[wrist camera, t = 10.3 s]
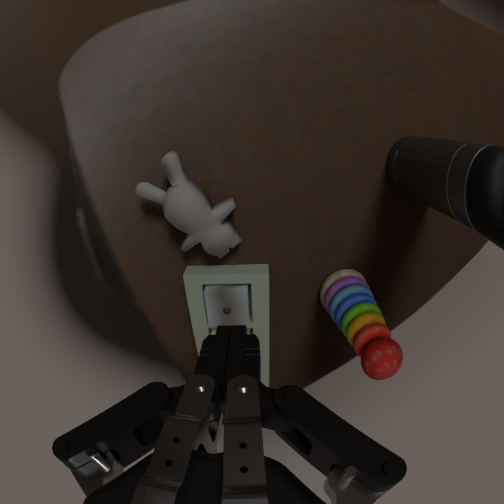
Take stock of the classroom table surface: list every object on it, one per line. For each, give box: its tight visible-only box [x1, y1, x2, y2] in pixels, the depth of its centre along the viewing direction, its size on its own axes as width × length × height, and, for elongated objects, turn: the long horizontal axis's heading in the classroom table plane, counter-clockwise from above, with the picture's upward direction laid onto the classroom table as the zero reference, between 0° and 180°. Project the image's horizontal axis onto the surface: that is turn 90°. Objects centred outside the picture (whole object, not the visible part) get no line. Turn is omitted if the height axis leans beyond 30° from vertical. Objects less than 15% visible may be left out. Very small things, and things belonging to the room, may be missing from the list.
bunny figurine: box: [136, 151, 241, 259], centre depth 35 cm, size 10×5×15 cm
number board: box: [183, 264, 269, 387], centre depth 44 cm, size 12×26×3 cm, turn 2°
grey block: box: [204, 284, 250, 327], centre depth 40 cm, size 6×6×4 cm
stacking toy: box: [320, 269, 403, 380], centre depth 33 cm, size 8×8×19 cm
